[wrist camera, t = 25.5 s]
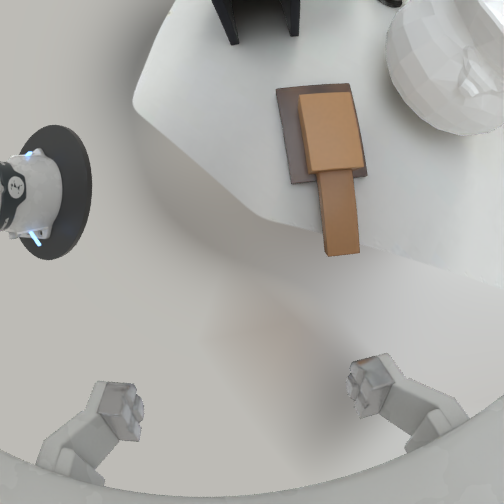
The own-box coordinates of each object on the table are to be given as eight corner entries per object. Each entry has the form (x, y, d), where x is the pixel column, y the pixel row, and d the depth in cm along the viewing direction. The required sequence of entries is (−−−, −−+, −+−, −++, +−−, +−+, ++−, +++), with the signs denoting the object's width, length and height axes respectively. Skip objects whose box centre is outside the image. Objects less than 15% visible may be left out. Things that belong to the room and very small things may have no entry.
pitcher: (346, 87, 32) (412, -28, 7) (395, 20, 27) (453, -72, 3) (446, 169, 32) (577, 162, 8) (480, 92, 27) (576, 52, 3)
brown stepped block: (317, 252, 35) (321, 261, 30) (297, 107, 32) (298, 94, 27) (361, 247, 34) (372, 255, 30) (342, 104, 31) (350, 91, 26)
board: (291, 184, 35) (291, 183, 34) (276, 92, 33) (275, 88, 31) (364, 176, 34) (367, 175, 32) (347, 87, 31) (349, 83, 30)
